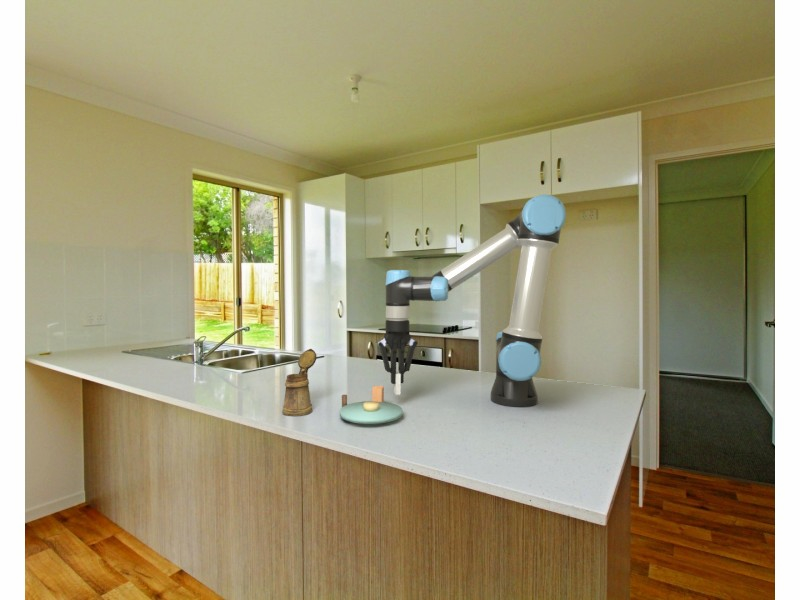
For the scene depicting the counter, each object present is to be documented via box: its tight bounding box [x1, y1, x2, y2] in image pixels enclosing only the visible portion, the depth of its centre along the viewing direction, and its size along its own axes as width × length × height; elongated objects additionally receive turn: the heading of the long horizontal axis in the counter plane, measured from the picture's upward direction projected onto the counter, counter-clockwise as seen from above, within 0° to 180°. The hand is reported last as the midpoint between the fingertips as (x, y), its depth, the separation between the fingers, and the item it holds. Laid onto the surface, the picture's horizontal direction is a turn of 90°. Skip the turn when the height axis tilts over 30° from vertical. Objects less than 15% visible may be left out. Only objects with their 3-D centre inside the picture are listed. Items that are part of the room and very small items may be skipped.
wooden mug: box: [281, 348, 318, 417], centre depth 133 cm, size 9×14×18 cm, turn 163°
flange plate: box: [339, 385, 403, 425], centre depth 127 cm, size 18×21×5 cm
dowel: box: [341, 394, 348, 408], centre depth 132 cm, size 2×2×5 cm
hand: (397, 393), depth 137 cm, fingers closed
